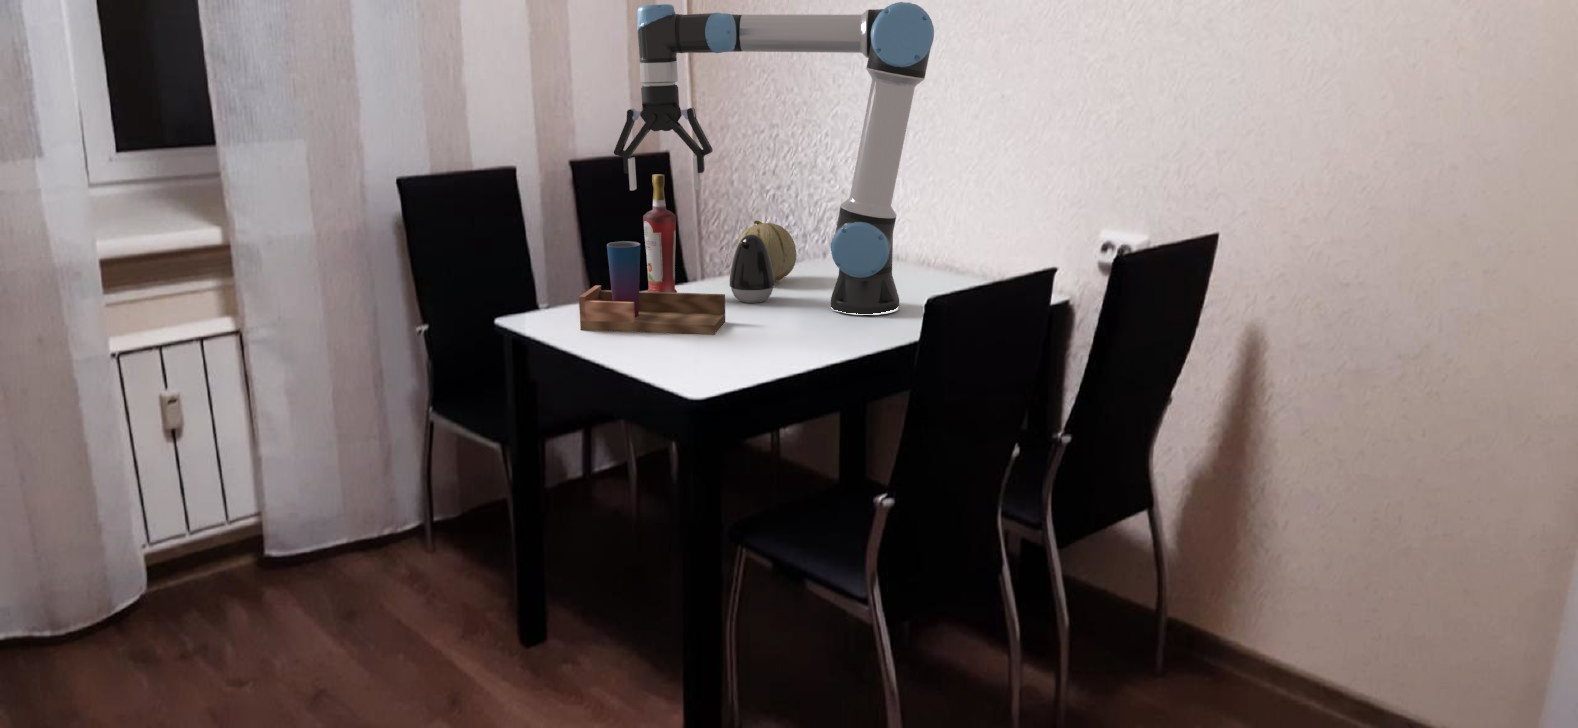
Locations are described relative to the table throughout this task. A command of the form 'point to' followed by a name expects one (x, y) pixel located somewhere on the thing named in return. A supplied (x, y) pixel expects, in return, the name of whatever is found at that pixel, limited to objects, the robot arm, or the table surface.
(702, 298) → the board
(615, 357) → the table surface
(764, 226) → the cantaloupe
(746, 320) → the table surface
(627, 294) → the cup
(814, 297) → the table surface
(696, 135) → the robot arm
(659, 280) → the liquor
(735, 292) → the black egg-shaped device
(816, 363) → the table surface
